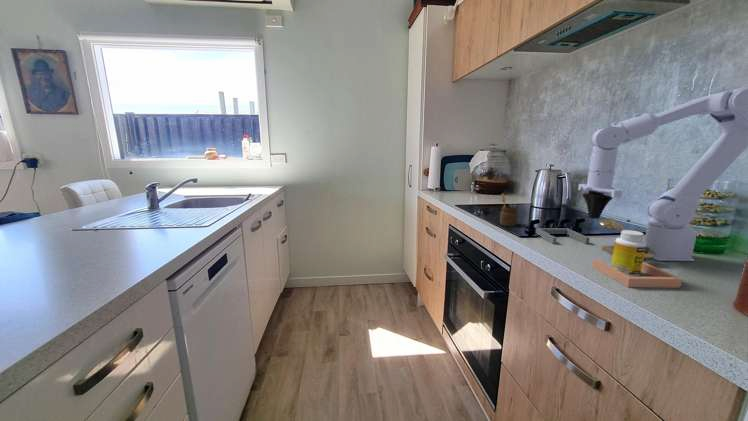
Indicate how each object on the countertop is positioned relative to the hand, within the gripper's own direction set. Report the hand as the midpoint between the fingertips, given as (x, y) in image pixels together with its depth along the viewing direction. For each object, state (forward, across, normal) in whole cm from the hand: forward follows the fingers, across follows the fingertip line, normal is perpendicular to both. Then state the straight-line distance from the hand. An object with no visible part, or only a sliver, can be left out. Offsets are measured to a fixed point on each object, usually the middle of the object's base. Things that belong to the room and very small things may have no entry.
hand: (594, 218), depth 85 cm
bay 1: (+9, -9, -3) cm, 13 cm away
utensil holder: (+10, -28, -13) cm, 32 cm away
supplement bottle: (+10, +18, -3) cm, 20 cm away
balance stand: (+9, +5, +6) cm, 12 cm away
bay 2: (+9, +19, -3) cm, 21 cm away
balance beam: (+5, +4, +6) cm, 9 cm away
